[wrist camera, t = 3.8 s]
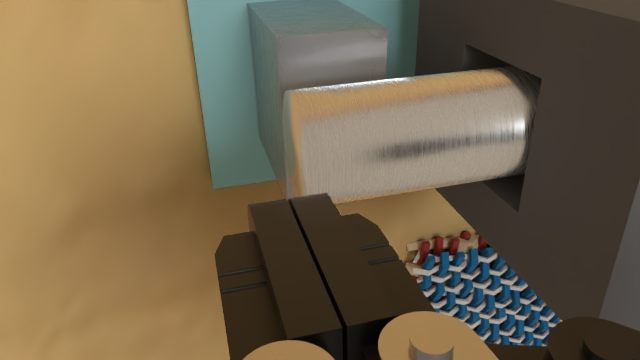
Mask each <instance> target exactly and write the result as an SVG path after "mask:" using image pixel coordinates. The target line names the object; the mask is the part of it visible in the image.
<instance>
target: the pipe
mask: <svg viewBox="0 0 640 360" xmlns="http://www.w3.org/2000/svg"><path fill="white" fill-rule="evenodd" d="M247 5H248V17H249V28H250V39H251V51H252V62H253V73H254V85H255V96H256V107H257V119H258V130H259V138H260V140H261V143H262V145H263V147H264V150H265V152H266V155H267V157H268V160H269V162H270V164H271V167H272V169H273V172H274V174H275V176H276V179H277V181H278V184H279V186H280V189H281V191H282V193H283V196H284V198H285V199H287V201H288V199H289V198H295V197H301V196H308V195H314V194H320V193H327V194H328V195H329V196H330V198H331V200H332V202H333V203H334V204H338V203H344V202H351V201H357V200H363V199H370V198H376V197H382V196H388V195H395V194H401V193H407V192H414V191H420V190H426V189H433V188H439V187H445V186H451V185H458V184H464V183H470V182H477V181H483V180H489V179H496V178H502V177H508V176H514V175H521V174H525V171H526V166H527V160H528V155H529V149H530V143H531V138H532V132H533V126H534V121H535V115H536V110H537V104H538V98H539V93H540V87H541V81H542V78H539V77H537V76H535V75H533V74H531V73H528V72H526V71H524V70H522V69H520V68H517V67H515V66H506V67H497V68H488V69H479V70H469V71H460V72H451V73H442V74H432V75H423V76H414V77H405V78H396V79H386V62H387V32H388V28H387V27H386V26H384V25H382V24H380V23H378V22H376V21H375V20H373V19H371V18H369V17H367V16H365V15H363V14H362V13H360V12H358V11H356V10H354V9H352V8H351V7H349V6H347V5H345V4H343V3H341V2H340V1H338V0H281V1H267V2H253V3H247Z"/></svg>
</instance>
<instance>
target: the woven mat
mask: <svg viewBox="0 0 640 360" xmlns="http://www.w3.org/2000/svg"><path fill="white" fill-rule="evenodd" d="M486 244H488V243H487V242H486V241H485V240H484V239H483V238H482V237H481V236H480V235H479V234H476V235H470V233H469V232H463V233H462V234H461V235H460V238H458V237H451V238H443V237H435V239H432V240H422V241H417V242H413V243H408V244H407V248H406V251H409V250H419V251H418V253H417V255H416V257H415V259H414V261H413V262H406V266H405V267H406V268H407V270H408V271H409V272H410V274H411V275H413V278H414V280H415V281H416V283H417V284H418V286H419V287H420V289H421V290H422V292H423V293H424V294H425V296H426V297H427V299H428V300H429V302H430V303H431V305H432V306H433V308H434V309H435V311H436V312H437V313H442V314H445V315H449V316H451V317H454V318H456V319H458V320H460V321H462V322H463V323H465V324H466V325H468V326H469V327H470V328H471V329H472V330H473V331H474V332H475V333H476V334H477V335H478V336H479V337H480V338H481V339H482V341H483V342H488V343H494V344H506V345H531V346H546V345H547V341H548V337H549V334H550V331H551V330H552V328H553V327H554V326H555V325H557V324H558V323H560V322H562V320H561V319H560V318H559V317H558V316H557V315H556V314H555V313H554V312H553V311H552V310H551V309H550V308H549V307H548V306H547V305H546V303H545V302H544V301H543V300H542V299H541V298H540V297H539V296H538V295H537V294H536V293H535V292H534V291H533V290H532V289H531V288H530V287H529V286H528V285H527V284H526V283H525V282H524V281H523V280H522V278H521V277H520V276H519V275H518V274H517V273H516V272H515V271H514V270H513V269H512V268H511V267H510V266H509V265H508V264H507V263H506V262H505V261H504V260H503V259H502V258H501V257H500V256H499V255H498V254H497V252H496V251H495V250H494V249H493V248H492V247H491V246H490V248H486ZM429 249H434V253H433V255H431V254H429ZM443 249H448V252H443ZM525 289H527V290H526V291H525ZM524 291H525V292H524ZM500 292H501V293H500ZM504 321H505V322H504ZM556 322H557V323H556ZM524 331H525V332H524Z"/></svg>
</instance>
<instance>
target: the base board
mask: <svg viewBox="0 0 640 360" xmlns="http://www.w3.org/2000/svg"><path fill="white" fill-rule="evenodd" d="M267 1H281V0H187V7H188V14H189V21H190V28H191V35H192V42H193V50H194V57H195V64H196V71H197V78H198V85H199V92H200V100H201V107H202V114H203V121H204V128H205V135H206V142H207V149H208V157H209V164H210V171H211V178H212V184H213V189H218V188H225V187H232V186H239V185H246V184H252V183H259V182H266V181H273V180H277V179H276V176H275V174H274V172H273V169H272V167H271V164H270V162H269V160H268V157H267V155H266V152H265V150H264V147H263V145H262V143H261V140H260V138H259V130H258V119H257V107H256V96H255V85H254V73H253V62H252V51H251V39H250V28H249V17H248V5H247V3H253V2H267ZM338 1H340V2H341V3H343V4H345V5H347V6H349V7H351V8H352V9H354V10H356V11H358V12H360V13H362V14H363V15H365V16H367V17H369V18H371V19H373V20H375V21H376V22H378V23H380V24H382V25H384V26H386V27H387V28H388V32H387V62H386V79H396V78H405V77H414V76H415V68H416V51H417V35H418V18H419V1H420V0H338Z"/></svg>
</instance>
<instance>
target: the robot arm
mask: <svg viewBox="0 0 640 360" xmlns="http://www.w3.org/2000/svg"><path fill="white" fill-rule="evenodd" d="M248 219H249V228H250V232H245V233H240V234H234V235H228V236H224V237H223V239H222V241H221V243H220V245H219V247H218V249H217V251H216V253H215V260H216V267H217V273H218V280H219V287H220V293H221V300H222V307H223V313H224V320H225V326H226V333H227V340H228V346H229V353H230V360H640V331H637V330H635V329H632V328H629V327H627V326H624V325H621V324H618V323H615V322H612V321H609V320H605V319H600V318H594V317H575V318H570V319H566V320H564V321H562V322H560V323H558V324H557V325H555V326H554V327H553V328H552V330H551V331H550V334H549V337H548V341H547V345H546V346H531V345H506V344H494V343H488V342H483V341H482V339H481V338H480V337H479V336H478V335H477V334H476V333H475V332H474V331H473V330H472V329H471V328H470V327H469V326H468V325H466V324H465V323H463V322H462V321H460V320H458V319H456V318H454V317H451V316H449V315H445V314H442V313H437V312H436V311H435V309H434V308H433V306H432V305H431V303H430V302H429V300H428V299H427V297H426V296H425V294H424V293H423V292H422V290H421V289H420V287H419V286H418V284H417V283H416V281H415V280H414V278H413V277H412V275H411V274H410V272H409V271H408V270H407V268H406V267H405V265H404V264H403V262H402V261H401V260H399V258H398V255H397V253H396V252H395V250H394V249H393V248H392V246H389V242H388V240H387V239H386V237H385V236H384V234H383V233H382V231H381V230H380V228H379V227H378V226H377V225H376V224H374V223H372V222H371V221H369V220H368V219H366V218H364V217H363V216H361V215H359V214H358V213H356V214H351V215H345V216H341V215H340V214H339V212H338V210H337V208H336V207H335V205H334V203H333V202H332V200H331V198H330V196H329V195H328V194H327V193H320V194H314V195H308V196H301V197H295V198H289V199H288V201H287V199H283V200H277V201H271V202H264V203H258V204H252V205H248Z"/></svg>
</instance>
